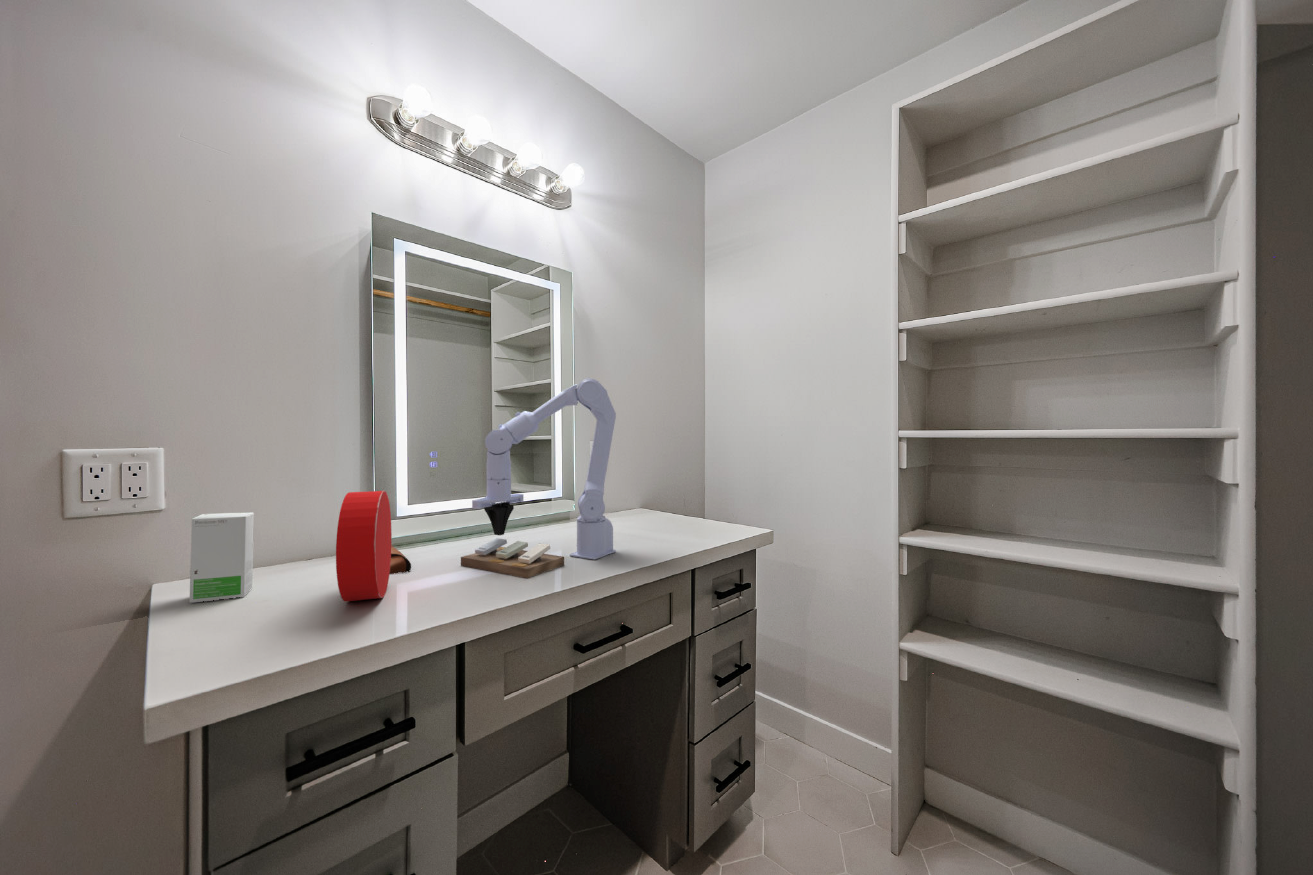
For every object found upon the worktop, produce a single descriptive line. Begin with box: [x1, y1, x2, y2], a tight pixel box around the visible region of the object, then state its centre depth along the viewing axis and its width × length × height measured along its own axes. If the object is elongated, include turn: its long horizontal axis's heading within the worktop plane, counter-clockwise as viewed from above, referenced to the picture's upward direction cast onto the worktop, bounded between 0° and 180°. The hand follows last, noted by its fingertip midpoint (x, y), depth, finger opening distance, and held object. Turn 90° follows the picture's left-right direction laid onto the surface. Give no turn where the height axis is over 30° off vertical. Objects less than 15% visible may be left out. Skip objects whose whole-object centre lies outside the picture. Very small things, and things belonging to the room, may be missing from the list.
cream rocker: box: [518, 543, 551, 564], centre depth 114 cm, size 7×3×1 cm, turn 150°
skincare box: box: [189, 512, 255, 604], centre depth 96 cm, size 8×7×16 cm
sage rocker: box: [496, 540, 529, 559], centre depth 118 cm, size 7×3×1 cm, turn 150°
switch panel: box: [460, 546, 565, 579], centre depth 118 cm, size 12×21×3 cm, turn 60°
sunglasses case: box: [389, 544, 412, 575], centre depth 118 cm, size 18×7×7 cm
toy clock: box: [335, 490, 392, 603], centre depth 95 cm, size 20×6×20 cm, turn 21°
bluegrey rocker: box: [474, 537, 508, 555], centre depth 121 cm, size 7×3×1 cm, turn 150°
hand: (499, 534), depth 123 cm, fingers closed
